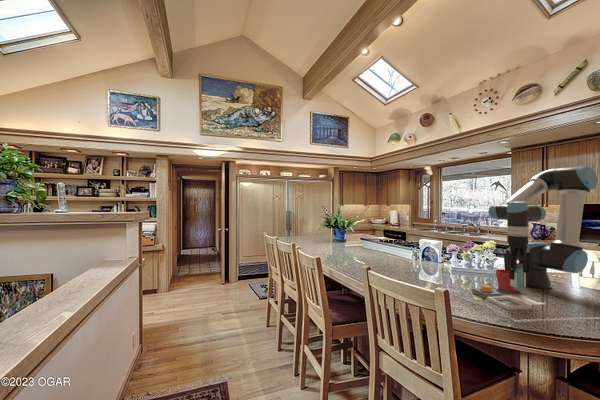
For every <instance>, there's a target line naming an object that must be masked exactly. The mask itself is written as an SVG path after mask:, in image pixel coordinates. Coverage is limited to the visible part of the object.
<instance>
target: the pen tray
mask: <svg viewBox="0 0 600 400" xmlns="http://www.w3.org/2000/svg"><path fill="white" fill-rule="evenodd" d="M486 300H487V301H489V302H490V303H493V304H494V305H497V306H498V307H502V308H503V309H505V310H508V311H509V310H510V311H511V310H512V311H513V310H532V306H533V305H529V304H527V303H524V302H522V301H519V300H517V299H515V298H512V297H510V296H502V295H501V297H487V299H486ZM501 301H510V302H512V303H514V304H509V305H508V304H506V303H503V302H501Z"/></svg>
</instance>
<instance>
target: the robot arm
mask: <svg viewBox="0 0 600 400" xmlns="http://www.w3.org/2000/svg"><path fill="white" fill-rule="evenodd" d="M597 186H598V177H597V173H596V172H595V170H594V169H593V167H590V166H587V165H584V166H580V165H578V166H573V167H572V166H571V167H570V166H569V167H559V168H551V169H547V170H544V171H541V172H540V173H538V174H535V175H534V176H533V177H531V178H530V179H528V180H527V181H526V184H525V185H523V187H521V188H519V190H517V191H516V192H514V193H513V194H512V195H510V196H509V197H507V199H506V200H504V201H502V203H500V204H492V205H490V206H489V208H488V210H487V211H488V216H489V218H491V219H493V220H499V221H500V220H501V221H504V220H505V221H507V225H506V227H507V231H506V233H507V237H506V238H507V241H506V242H507V244H508V246H507V248H506V249H504V248H503V249H502V254H503V263H504V264H503V265H504V270H507V271H509V278H510V285H511V286H513V287H517V273H515V270H516V263H517V262H519V263H523V288H524V287H528V288H536V289H551V288H552V282H551V279H550V277H549V274H548V270H549V269H550V270H554V271H559V272H563V273H571V274H579V273H581V272H583V271H584V270H585V268H586V266H587V264H588V262H589V257H588V253H587V252H586V251H585V250H583V246H582V245H581V244H580V236H581V235H580V234H581V228H582V221H583V220H582V219H583V213H584V204H585V197H586V196H588V195H589V194H590V193H591V192H590V191H591V190H594V189H596V188H597ZM548 191H557V193H558V194H559V195H560V202H559V208H558V209H559V210H558V216H557V217H558V218H557V223H556V231H555V239H554V240H553V241H551V242H550V244H549V245H548V243H547V242H529V222H534V223H535V222H539V221H542V220H544V219H546V216H547V211H546V209H545V208H544V207H543V206H541V205H537V204H536V205H529V203H530V202H531V201H533V200H534V199H535V198H536V197H537V196H538V195H540V194H544V193H546V192H548ZM547 269H548V270H547Z"/></svg>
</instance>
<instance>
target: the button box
mask: <svg viewBox="0 0 600 400" xmlns="http://www.w3.org/2000/svg"><path fill="white" fill-rule="evenodd" d="M471 289H472V290H471V291H472V294H473V295H476V296H479V297H480V298H483V299H485V300H487V297H501V296H502V293H501V292H499V291H496V290H494V289H492V293H485V292H483V291H481V287H472V288H471Z"/></svg>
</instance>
